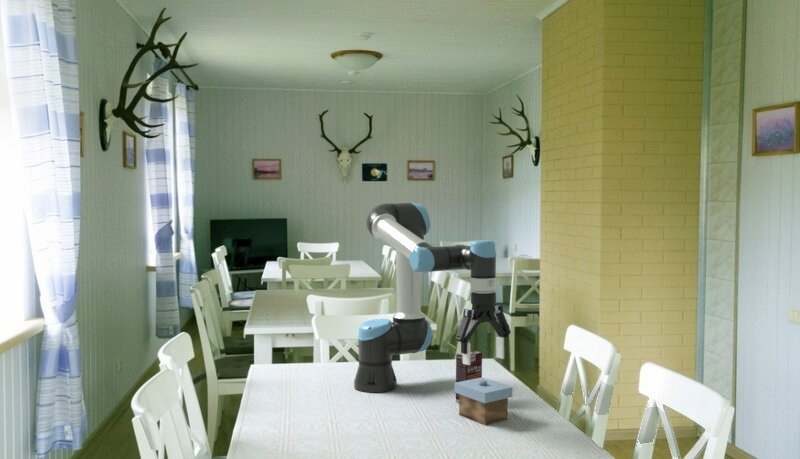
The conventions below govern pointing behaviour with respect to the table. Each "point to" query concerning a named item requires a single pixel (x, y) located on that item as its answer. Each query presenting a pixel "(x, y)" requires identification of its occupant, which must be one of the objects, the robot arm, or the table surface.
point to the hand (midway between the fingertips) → (483, 361)
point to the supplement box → (468, 368)
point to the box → (483, 410)
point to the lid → (483, 390)
